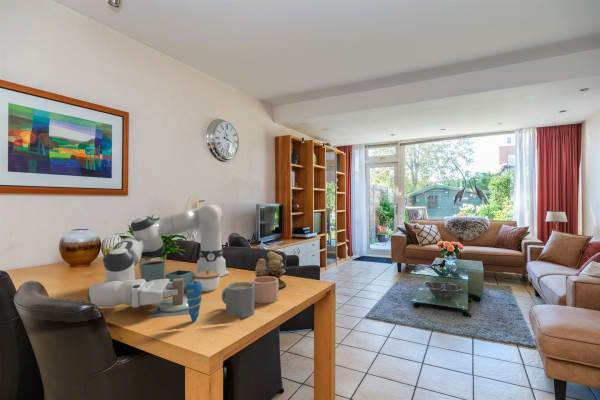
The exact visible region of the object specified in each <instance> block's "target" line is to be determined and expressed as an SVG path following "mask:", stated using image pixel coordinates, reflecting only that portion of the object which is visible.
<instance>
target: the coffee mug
mask: <svg viewBox="0 0 600 400" xmlns="http://www.w3.org/2000/svg"><path fill="white" fill-rule="evenodd" d="M221 298H222V300H221V301H222V302H223V303H224V304H225V313H226V315H227V316H229V317H237V318H238V317H239V319H246V318H250V317H252V316H254V314H255V303H254V284H253V283H251V281H250V282H249V281H248V282H247V281H238V282H232V283H228V284H227V285H225V288H223V289H222V292H221Z"/></svg>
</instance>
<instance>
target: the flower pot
mask: <svg viewBox="0 0 600 400" xmlns="http://www.w3.org/2000/svg"><path fill="white" fill-rule="evenodd" d="M194 272H195V271H193V270H181V269H178V270H174V271H172V272H168V273H164V279H170V282H173V279H178V278H184V293H185V292H187V289H186V285H187V284H188V283H191V282H193V280H194V277H193V275H194ZM168 290H173V288H169V289H168Z"/></svg>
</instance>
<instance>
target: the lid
mask: <svg viewBox="0 0 600 400" xmlns="http://www.w3.org/2000/svg"><path fill="white" fill-rule="evenodd" d="M173 289H178V294H177V295H172V298H171V299H172V300H168V301H165V302H163V303H161V304H160V305H159V309H160V310H161V311H163V312H180V311H185V310H188V309H189V306H188V303H187V301H188V299H187V297H185V295H184V294H185V292H184V278H178V279H173Z"/></svg>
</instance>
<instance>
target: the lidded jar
mask: <svg viewBox="0 0 600 400" xmlns="http://www.w3.org/2000/svg"><path fill="white" fill-rule="evenodd" d="M195 279H196V282H200V283H201V285H202V293H203V292H204V293H206V292H207V293H208V292H213V291H215V290H216V289H217V288H218V287H219V284H220V279H221V277H220V273H219V272H215V271H209V270H206V272H200V273H197V274H196V275H195V277H194V280H195Z"/></svg>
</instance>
